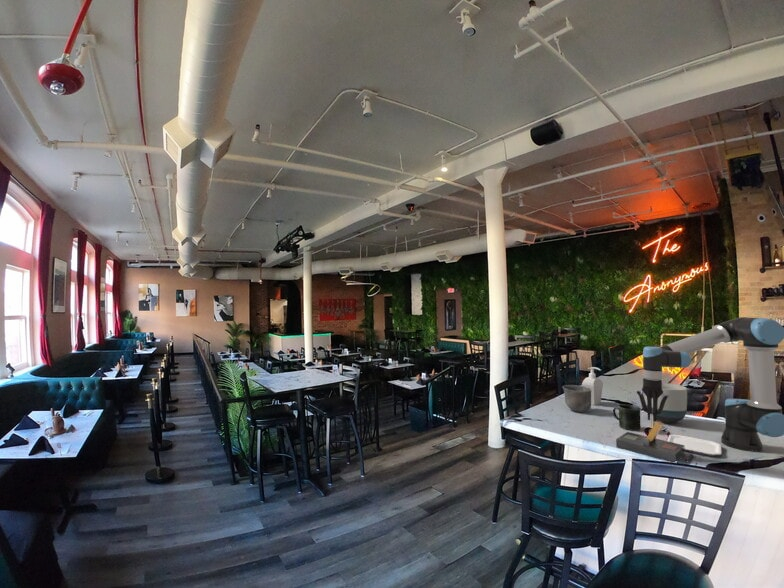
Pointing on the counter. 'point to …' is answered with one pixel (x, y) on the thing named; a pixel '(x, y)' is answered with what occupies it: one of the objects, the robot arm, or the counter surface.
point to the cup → (577, 397)
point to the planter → (672, 403)
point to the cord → (689, 457)
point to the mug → (628, 417)
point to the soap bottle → (594, 386)
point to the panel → (651, 447)
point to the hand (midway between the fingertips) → (652, 427)
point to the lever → (655, 431)
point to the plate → (697, 445)
